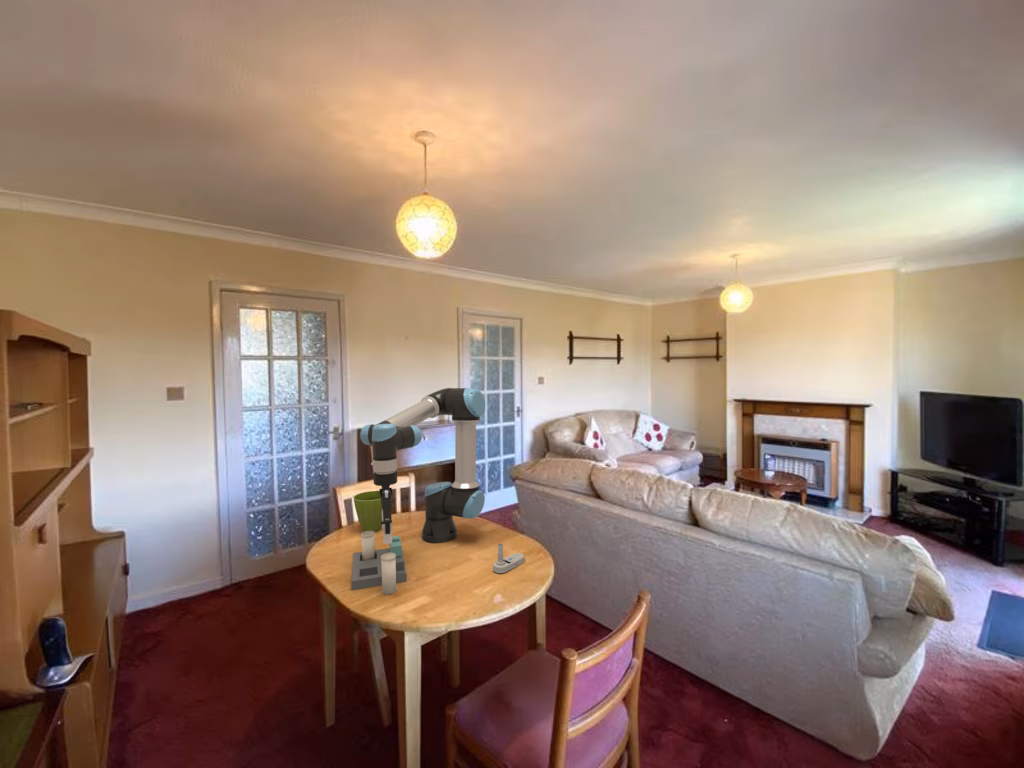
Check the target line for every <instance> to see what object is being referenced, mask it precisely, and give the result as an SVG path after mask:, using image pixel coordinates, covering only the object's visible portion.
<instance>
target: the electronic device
mask: <svg viewBox="0 0 1024 768" xmlns="http://www.w3.org/2000/svg"><path fill="white" fill-rule="evenodd" d="M525 560H526V559H525V555H524V554H523V553H520V552H515V553H512V554H510V555H507V556H506V557H504V543H498V544H497V560H496V561H495V562H493V563H492V564H493V565H492V569H493V572H494V573H496V574H504V573H507V572H509V571H510V570H514V569H515V568H517V567H519V566H520V565H522V564H524V563H525V562H526V561H525ZM524 561H525V562H524ZM523 562H524V563H523ZM518 565H519V566H518Z"/></svg>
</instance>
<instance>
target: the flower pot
mask: <svg viewBox="0 0 1024 768" xmlns="http://www.w3.org/2000/svg"><path fill="white" fill-rule="evenodd" d="M353 502H354V508H355V512H356V515H357V518H358V522H359V524H360V527H361V529H362V532H365V531H374V533H376V532H379V531H380V530H381V529H382V524H381V522H382V510H383V509H382V505H381V498H380V490H371V491H365V492H360V493H356V494H355V495H353Z"/></svg>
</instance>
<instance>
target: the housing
mask: <svg viewBox="0 0 1024 768" xmlns="http://www.w3.org/2000/svg"><path fill="white" fill-rule="evenodd" d="M374 550H375V559H371V560H364V561H362V551H358V552H353V554H352V566H351V581H350V583H351V584H350V585H351V586H350V587H351V591H355V590H354V589H356V590H362V589H369V588H374V587H381V586H382V565H381V555H383V554H385V553H390V547H387V548H381V549H374ZM395 560H396V584H398V583H400V584H401V583H405V582H407V578H408V577H407V576H408V575H407V568H406V564H405V558H404V552H403V551H402V556H398V557H396V558H395Z"/></svg>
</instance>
